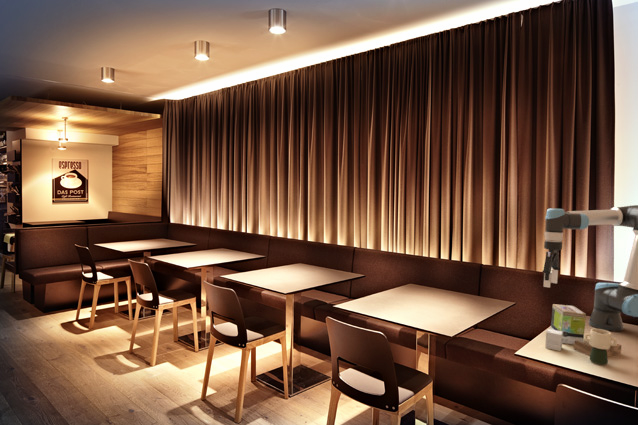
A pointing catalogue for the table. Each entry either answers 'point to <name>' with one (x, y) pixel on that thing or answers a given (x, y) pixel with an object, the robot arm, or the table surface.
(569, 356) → the table surface
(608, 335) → the character mug
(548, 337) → the skincare box
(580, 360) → the table surface
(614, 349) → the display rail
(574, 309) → the tea box
